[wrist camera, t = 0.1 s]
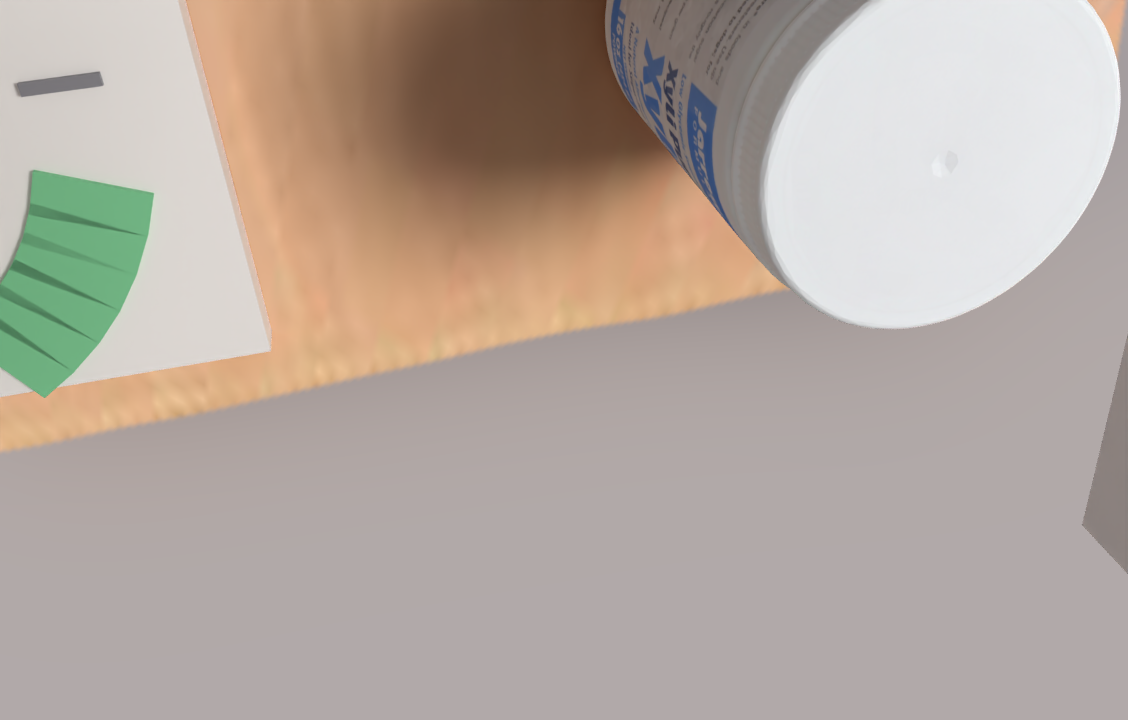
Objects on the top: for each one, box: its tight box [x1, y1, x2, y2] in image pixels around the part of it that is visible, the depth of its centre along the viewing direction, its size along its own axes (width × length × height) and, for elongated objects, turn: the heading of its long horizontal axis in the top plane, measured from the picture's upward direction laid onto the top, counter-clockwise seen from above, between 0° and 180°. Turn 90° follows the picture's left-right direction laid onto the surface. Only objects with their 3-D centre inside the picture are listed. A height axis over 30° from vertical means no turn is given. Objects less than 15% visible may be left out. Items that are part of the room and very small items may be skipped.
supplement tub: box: [605, 0, 1120, 329], centre depth 32 cm, size 10×10×15 cm
